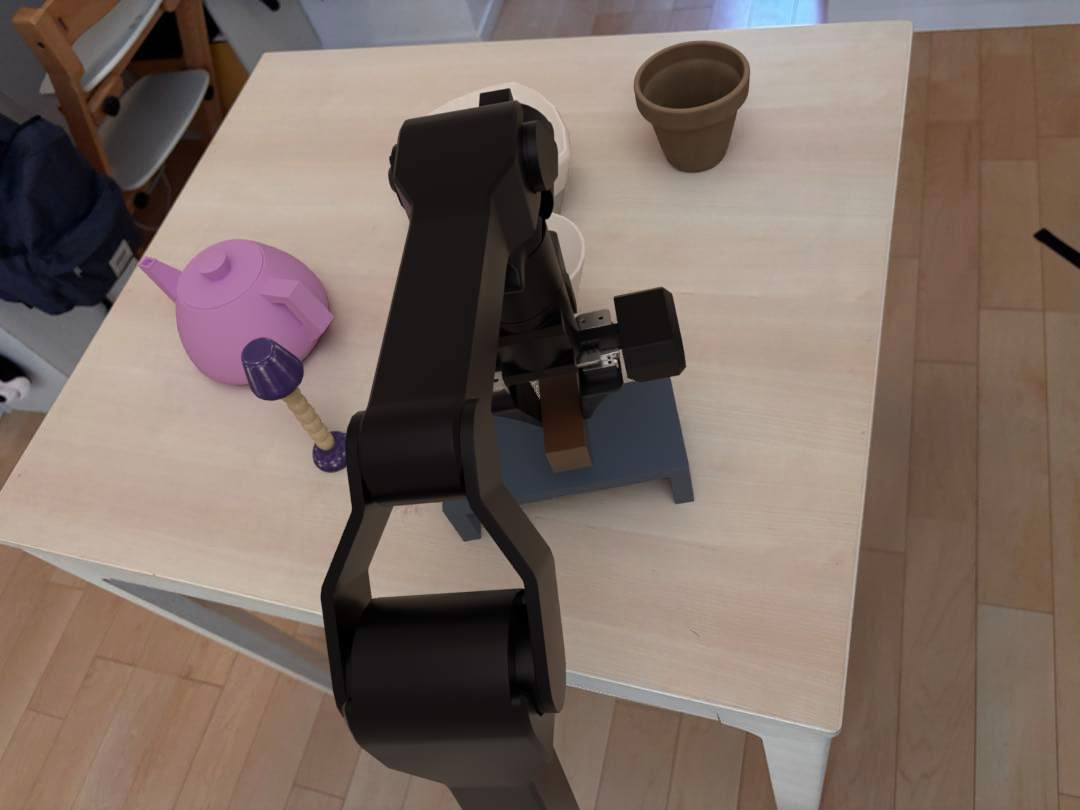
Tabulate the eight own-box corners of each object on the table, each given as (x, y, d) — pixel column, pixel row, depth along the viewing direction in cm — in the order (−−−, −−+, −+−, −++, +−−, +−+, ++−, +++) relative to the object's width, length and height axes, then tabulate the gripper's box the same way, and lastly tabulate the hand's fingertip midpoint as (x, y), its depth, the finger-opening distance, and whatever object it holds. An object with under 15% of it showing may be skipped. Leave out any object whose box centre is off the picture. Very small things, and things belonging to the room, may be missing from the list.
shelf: (694, 501, 72) (689, 466, 67) (463, 541, 75) (442, 511, 70) (675, 411, 77) (669, 373, 72) (460, 452, 80) (440, 418, 75)
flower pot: (709, 102, 98) (703, 22, 90) (773, 151, 92) (774, 71, 84) (624, 151, 97) (611, 75, 89) (683, 205, 90) (675, 128, 82)
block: (592, 466, 64) (585, 446, 62) (553, 473, 64) (544, 453, 62) (581, 378, 68) (574, 356, 66) (544, 385, 69) (536, 363, 66)
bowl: (459, 295, 90) (430, 232, 83) (406, 197, 101) (376, 133, 93) (609, 221, 92) (595, 152, 84) (542, 131, 102) (523, 63, 94)
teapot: (385, 295, 93) (339, 215, 83) (314, 415, 86) (255, 343, 76) (227, 265, 101) (169, 189, 91) (151, 372, 94) (79, 302, 84)
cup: (559, 414, 80) (526, 324, 69) (482, 362, 85) (439, 270, 74) (632, 337, 83) (611, 239, 72) (552, 292, 88) (521, 194, 77)
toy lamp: (353, 424, 84) (274, 318, 71) (368, 459, 82) (289, 356, 68) (309, 447, 84) (220, 345, 70) (323, 483, 81) (233, 385, 68)
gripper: (648, 162, 56) (670, 311, 69) (375, 223, 58) (445, 356, 71) (677, 294, 50) (695, 430, 63) (369, 355, 52) (448, 474, 65)
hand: (565, 417), depth 66 cm, fingers closed on block, 3 cm apart
